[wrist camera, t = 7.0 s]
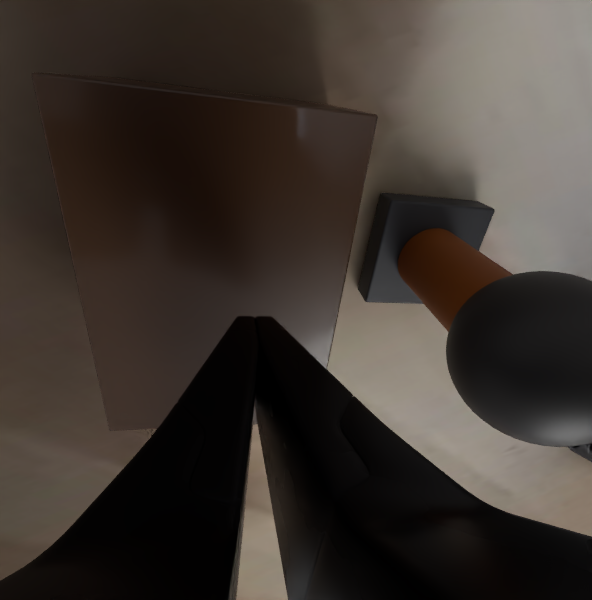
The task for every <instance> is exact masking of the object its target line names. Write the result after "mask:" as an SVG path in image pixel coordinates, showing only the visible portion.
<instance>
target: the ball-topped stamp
mask: <svg viewBox="0 0 592 600" xmlns="http://www.w3.org/2000/svg"><path fill="white" fill-rule="evenodd" d="M493 214H494V209H493V208H491V207H489V206H487V205H485V204H482V203H480V202H478V201H469V200H459V199H448V198H437V197H426V196H416V195H405V194H394V193H381V194H380V198H379V202H378V206H377V210H376V214H375V219H374V223H373V227H372V231H371V235H370V240H369V244H368V248H367V252H366V256H365V261H364V265H363V269H362V273H361V278H360V282H359V286H358V290H359V292H360V294H361V295H362V297H363V298H364V300H365V301H366V302H383V303H416V304H425V306H426V307H427V308H428V309H429V310H430V311H431V313H432V314H433V315H434V316H435V317H436V318H437V319H438V321H439V322H440V323H441V324H442V325H443V326H444V327H445V329H446V330H447V331H448V332H449V333H448V337H447V345H446V357H447V364H448V369H449V373H450V376H451V379H452V381H453V383H454V385H455V387H456V389H457V391H458V393H459V394H460V396H461V397H462V399H463V400H464V402H465V403H466V404H467V405H468V406H469V407H470V409H471V410H472V411H473V412H474V413H475V414H476V415H478V416H479V417H480V418H481V419H482V420H483V421H485V422H486V423H488V424H489V425H490V426H492V427H493V428H495V429H497V430H499V431H501V432H502V433H504V434H506V435H509V436H511V437H513V438H516V439H519V440H522V441H525V442H528V443H533V444H538V445H543V446H554V447H567V446H578V445H584V444H590V443H592V281H590V280H587V279H585V278H582V277H578V276H575V275H571V274H566V273H560V272H548V271H537V272H526V273H520V274H514V275H513V274H512V273H510V272H509V271H507V270H506V269H504V268H503V267H501V266H500V265H498V264H497V263H495V262H494V261H492V260H491V259H489V258H488V257H486V256H485V255H483V254H482V253H481V252H479V248H480V246H481V243H482V241H483V238H484V236H485V233H486V231H487V228H488V226H489V224H490V221H491V219H492V216H493Z"/></svg>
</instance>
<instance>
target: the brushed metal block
mask: <svg viewBox="0 0 592 600" xmlns="http://www.w3.org/2000/svg"><path fill="white" fill-rule="evenodd" d="M32 79H33V84H34V88H35V93H36V98H37V102H38V107H39V111H40V116H41V120H42V125H43V130H44V134H45V139H46V143H47V148H48V152H49V157H50V161H51V166H52V171H53V175H54V180H55V184H56V189H57V193H58V198H59V202H60V207H61V212H62V216H63V221H64V225H65V230H66V234H67V239H68V244H69V248H70V253H71V257H72V262H73V266H74V271H75V275H76V280H77V285H78V289H79V294H80V298H81V303H82V307H83V312H84V316H85V321H86V326H87V330H88V335H89V339H90V344H91V348H92V353H93V357H94V362H95V367H96V371H97V376H98V380H99V385H100V389H101V394H102V399H103V403H104V408H105V412H106V417H107V421H108V426H109V430H110V431H115V430H138V429H158V427H159V426H160V425H161V423H162V422H163V421H164V419H165V418H166V417H167V415H168V414H169V412H170V411H171V410H172V408H173V407H174V405H175V404H176V403H178V400H179V398H180V397H181V396H182V394H183V393H184V391H185V390H186V388H187V387H188V386H189V384H190V383H191V381H192V380H193V378H194V377H195V376H196V374H197V373H198V371H199V370H200V368H201V367H202V366H203V364H204V363H205V361H206V360H207V358H208V357H209V356H210V354H211V353H212V351H213V350H214V348H215V347H216V346H217V344H218V343H219V341H220V340H221V338H222V337H223V336H224V334H225V333H226V331H227V330H228V328H229V327H230V326H231V324H232V323H233V321H234V320H235V318H236V317H237V316H253V317H254V318H255V317H257V316H272V317H273V318H274V319H276V320H277V321H278V322H279V323H280V324H281V325H282V326H283V327H284V328H285V329H286V330H287V331H288V332H289V333H290V334H291V335H292V336H293V337H294V338H295V339H296V340H297V341H298V342H299V343H300V344H301V345H302V346H303V347H304V348H305V349H306V350H307V351H308V352H309V353H310V354H311V355H313V356H314V357H315V358H316V359H317V360H318V361H319V362H320V363H321V364H322V365H323V366H324V367H325V368H326V369H327V366H328V361H329V356H330V351H331V346H332V341H333V336H334V331H335V327H336V322H337V317H338V312H339V307H340V302H341V297H342V292H343V287H344V282H345V277H346V272H347V267H348V262H349V257H350V252H351V247H352V242H353V238H354V233H355V228H356V223H357V218H358V213H359V208H360V203H361V198H362V193H363V188H364V183H365V178H366V173H367V168H368V163H369V158H370V153H371V149H372V144H373V139H374V134H375V129H376V124H377V119H378V116H377V115H376V114H372V113H367V112H362V111H357V110H352V109H348V108H343V107H338V106H333V105H328V104H321V103H313V102H305V101H297V100H289V99H281V98H273V97H265V96H257V95H249V94H241V93H233V92H225V91H217V90H209V89H202V88H194V87H186V86H178V85H170V84H162V83H154V82H146V81H138V80H130V79H122V78H114V77H102V76H86V75H70V74H55V73H39V72H34V73H32ZM253 424H258V422H257V417H256V410H255V406H254V418H253Z"/></svg>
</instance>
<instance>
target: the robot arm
mask: <svg viewBox="0 0 592 600" xmlns="http://www.w3.org/2000/svg"><path fill="white" fill-rule="evenodd" d="M352 396H353V395H352V393H351V392H349V391H348V390H347V389H346V388H345V387H344V386H343V385H342V384H341V383H340V382H339V381H338V380H337V379H336V378H335V377H334V376H333V375H332V374H331V373H330V372H329V371H328V370H327V369H326V368H325V367H324V366H323V365H322V364H321V363H320V362H319V361H318V360H317V359H316V358H315V357H314V356H313V355H311V354H310V353H309V352H308V351H307V350H306V349H305V348H304V347H303V346H302V345H301V344H300V343H299V342H298V341H297V340H296V339H295V338H294V337H293V336H292V335H291V334H290V333H289V332H288V331H287V330H286V329H285V328H284V327H283V326H282V325H281V324H280V323H279V322H278V321H277V320H276V319H274V318H273V317H272V316H257V317H255V318H254V317H253V316H237V317H236V318H235V320H234V321H233V323H232V324H231V326H230V327H229V328H228V330H227V331H226V333H225V334H224V336H223V337H222V338H221V340H220V341H219V343H218V344H217V346H216V347H215V348H214V350H213V351H212V353H211V354H210V356H209V357H208V358H207V360H206V361H205V363H204V364H203V366H202V367H201V368H200V370H199V371H198V373H197V374H196V376H195V377H194V378H193V380H192V381H191V383H190V384H189V386H188V387H187V388H186V390H185V391H184V393H183V394H182V396H181V397H180V398H179V400H178V403H176V404H175V405H174V407H173V408H172V410H171V411H170V412H169V414H168V415H167V417H166V418H165V419H164V421H163V422H162V423H161V425H160V426H159V427H158V429H157V430H156V431H155V433H154V434H153V435H152V437H151V438H150V439H149V440H148V441H147V442H146V444H145V445H144V446H143V447H142V448H141V449H140V451H139V452H138V453H137V454H136V455H135V456H134V457H133V459H132V460H131V461H130V462H129V463H128V464H127V465H126V466H125V468H124V469H123V470H122V471H121V472H120V473H119V474H118V475H117V476H116V477H115V479H114V480H113V481H112V482H111V483H110V484H109V485H108V486H107V487H106V488H105V490H104V491H103V492H102V493H101V494H100V495H99V496H98V497H97V498H96V500H95V501H94V502H93V503H92V504H91V505H90V506H89V507H88V508H87V509H86V511H85V512H84V513H83V514H82V515H81V516H80V517H79V518H78V519H77V520H76V522H75V523H74V524H73V525H72V526H71V527H70V528H69V529H68V530H67V531H66V532H65V533H64V534H63V535H62V536H61V537H60V538H59V539H58V540H57V541H56V542H55V543H54V544H53V545H51V546H50V547H49V548H48V549H47V550H46V551H44V552H43V553H42V554H41V555H39V556H38V557H37V558H36V559H34V560H33V561H31V562H30V563H29V564H27V565H26V566H25V567H23V568H21V569H20V570H18V571H16V572H15V573H13V574H11V575H9V576H8V577H6V578H4V579H2V580H1V581H0V600H236V596H237V585H238V575H239V565H240V554H241V544H242V533H243V523H244V512H245V502H246V491H247V481H248V471H249V460H250V450H251V439H252V429H253V418H254V406H255V410H256V417H257V422H258V428H259V434H260V440H261V446H262V451H263V457H264V463H265V469H266V474H267V480H268V486H269V492H270V497H271V503H272V509H273V515H274V520H275V526H276V532H277V538H278V543H279V549H280V555H281V561H282V566H283V572H284V578H285V584H286V590H287V595H288V600H592V537H591V536H587V535H584V534H580V533H577V532H573V531H570V530H566V529H563V528H559V527H556V526H552V525H549V524H545V523H542V522H538V521H535V520H531V519H528V518H524V517H521V516H517V515H514V514H510V513H507V512H505V511H502V510H500V509H497V508H495V507H493V506H491V505H489V504H487V503H485V502H483V501H482V500H480V499H479V498H477V497H475V496H474V495H472V494H471V493H469V492H468V491H467V490H465V489H464V488H463V487H461V486H460V485H459V484H458V483H456V482H455V481H454V480H453V479H451V478H450V477H449V476H448V475H446V474H445V473H444V472H443V471H441V470H440V469H439V468H438V467H436V466H435V465H434V464H433V463H431V462H430V461H429V460H428V459H426V458H425V457H424V456H423V455H421V454H420V453H419V452H418V451H416V450H415V449H414V448H413V447H411V446H410V445H409V444H408V443H406V442H405V441H404V440H403V439H401V438H400V437H399V436H398V435H397V434H395V433H394V432H393V431H392V430H391V429H389V428H388V427H387V426H386V425H385V424H384V423H382V422H381V421H380V420H379V419H378V418H377V417H376V416H375V415H374V414H373V413H372V412H370V411H369V410H368V409H367V408H366V407H365V406H364V405H363V404H362V403H361V402H360V401H359V400H358V399H357V398H356V397H354V396H353V397H352ZM568 447H569V448H570V450H572V451H574V452H575V453H577V454H579V455H581V456H582V457H584V458H586V459H588V460H589V461H591V462H592V443H590V444H584V445H578V446H568Z"/></svg>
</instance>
